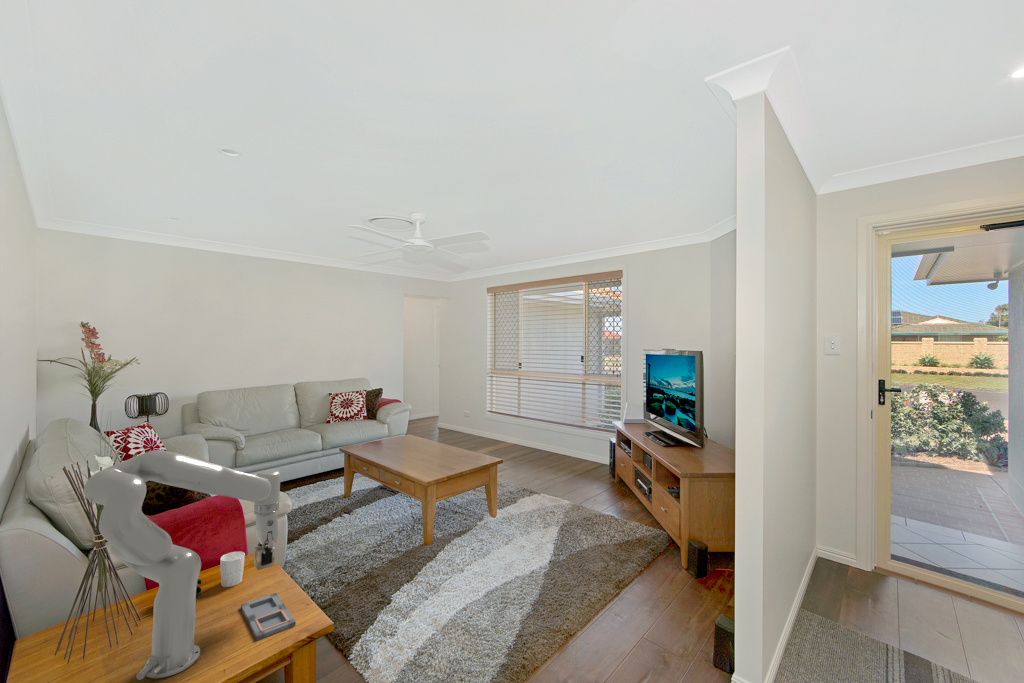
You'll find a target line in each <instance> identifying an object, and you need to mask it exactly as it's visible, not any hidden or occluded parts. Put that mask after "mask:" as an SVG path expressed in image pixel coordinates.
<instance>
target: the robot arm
mask: <svg viewBox="0 0 1024 683" xmlns="http://www.w3.org/2000/svg"><path fill="white" fill-rule="evenodd" d="M149 481H151V482H155V483H159V484H163V485H166V486H173V487H175V488H182V489H185V490H190V491H195V492H199V493H203V494H208V495H216V496H223V497H229V498H234V499H238V500H243V501H247V502H251V503H254V505H253V515H254V516H256V517H255V534H254V535H255V538H256V540H257V545H256V547H258V546H262V545H263V553H262V554H261V565H262V566H263V565H266V564H270V563H272V551H273V546H274V543H277V542H278V540H279V538H278V535H279V534H278V531H279V530H278V529H279V527H278V526H279V525H278V524H279V522H278V512H279V511H280V494H281V492H280V491H281V490H280V489H281V473H280V471H279V470H276V469H267V470H262V471H259V472H256V473H246V472H243V471H240V470H236V469H233V468H230V467H227V466H224V465H220V464H217V463H213V462H210V461H207V460H202V459H199V458H197V457H196V458H195V457H192V456H190V455H189V456H188V455H186V454H181V453H178V452H174V451H166V450H161V449H157V450H156V449H155V450H150V451H146V452H144V453H141V454H139V455H136V456H134V457H131V458H129V459H126V460H123V461H121V462H119V463H116V464H113V465H110V466H109V467H106V468H103V469H101V470H99V471H97V472H95V473H94V474H93V475H91V476H90V477H89V478H88V479H87V480H86V482H85V484H84V486H83V494H84V497H85V498H86V499H87V500H88V501H90V502H92V503H93V504H98V505H101V506H103V508H102V510H101V513H100V516H99V521H98V529H99V534H100V535H101V536H102V537H103V539H104V540H106V541H107V542H108V543H109V548H110V552H111V554H112V555H113V557H114V558H115V559H117V560H118V561H119V562H120V563H123V565H125V566H127V567H128V568H130V569H131V570H132V571H134V572H136V573H137V574H139V575H140V576H141V577H144V578H146V579H148V580H150V581H154V582H155V583H158V585H159V586H158V587H159V588H158V591H157V593H156V595H155V598H154V602H153V607H152V608H153V611H152V613H153V617H152V637H151V656H149V657H148V660H147V661H146V662H145V664H144V666H143V668H142V669H141V670H140V671H139V672H138V673H136V675H135V676H136V677H135V678H136V679H137V680H138V681H140V680H143V679H144V678H146V677H147V678H149V679H163V678H168V677H171V676H173V675H176V674H179V673H181V672H184V671H185V670H186V669H188V668H189V667H191V666H192V665H194V663H196V661H197V660H198V659H199V657H200V655H201V648H200V646H199V645H197V644H195V629H196V628H195V626H196V625H195V624H196V605H197V604H196V602H197V600H196V599H197V598H196V588H197V586H198V583H197V581H198V579H199V576H200V572H201V569H202V561H201V557H200V556H199V554H198V553H197V552H195V551H194V550H192V549H190V548H187V547H183V546H179V545H177V544H173V541H172V538H171V535H170V534H169V533H168V532H167V531H166V530H164V529H163V528H161V527H159V526H158V525H157V524H156V523H155V522H153V521H152V520H151V519H150V518H148V517H147V515H146V514H144V512H143V511H142V510H143V509H142V507H143V503H144V500H145V498H146V494H147V485H146V483H147V482H149ZM265 545H268V546H267V547H266V548H265Z"/></svg>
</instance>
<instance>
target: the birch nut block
mask: <svg viewBox="0 0 1024 683" xmlns="http://www.w3.org/2000/svg"><path fill="white" fill-rule="evenodd" d="M267 546H268V545H265V548H266V547H267ZM262 553H263V545H262V546H255V547H254V556H253V557H254V558H253V559H254V560H253V565H254V567H255V569H256V570H257V571H261V570H265V569H268V568H271V567H274V566H275V555H276V554H275V553H276V548H275V546H274V545H273V551H272V563H270V564H266V565H263V566H262V565H261V554H262Z"/></svg>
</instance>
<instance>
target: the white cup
mask: <svg viewBox="0 0 1024 683" xmlns="http://www.w3.org/2000/svg"><path fill="white" fill-rule="evenodd" d="M245 557H246V553H245V552H244V551H231V552H227V553H226V554H223V555H221V557H220V558H219V559H220V560H219V561H220V566H219V567H220V580H221V581H220V586H221V587H222V588H231V587H234V586H237V585H239V584H240V583H241V582H243V575H244V570H245V569H244V567H245Z"/></svg>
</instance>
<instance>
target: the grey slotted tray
mask: <svg viewBox="0 0 1024 683" xmlns="http://www.w3.org/2000/svg"><path fill="white" fill-rule="evenodd" d="M240 609H241V612H242V613H243V615H244V617H245V620H246V622H247V623H248V625H249V628H250V629H251V631H252V633H253V636H254V637H255V639H256V641H258V640H261V639H263V638H267V637H269V636H272V635H274V634H277V633H279V632H282V631H284V630H288V629H290V628H292V627H295V626H296V624H297V623H296V620H295V618H294V617H293V615H292V614H291V612H290V611H289V609H288V608H287V606H286V605H285V603H284V602H283V601H282V599H281V598H280V596H279V595H278V594H277V592H275V593H272V594H269V595H266V596H263V597H259V598H257V599H253V600H251V601H248V602H245V603H241V604H240Z"/></svg>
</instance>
